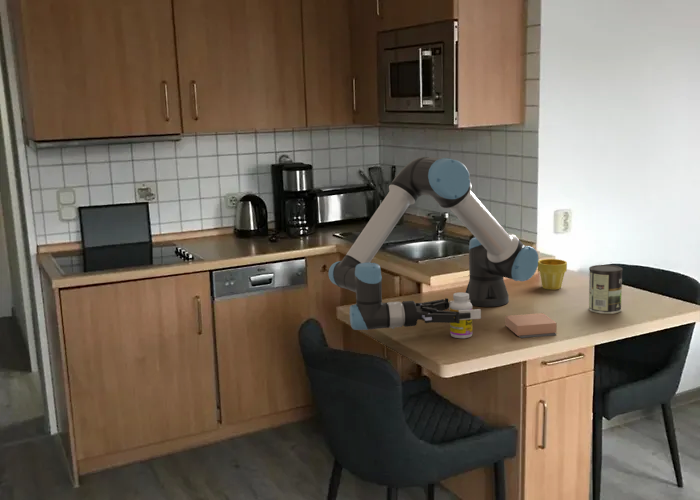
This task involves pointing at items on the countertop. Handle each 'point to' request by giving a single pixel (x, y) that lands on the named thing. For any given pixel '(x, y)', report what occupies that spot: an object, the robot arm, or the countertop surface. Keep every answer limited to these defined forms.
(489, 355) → the countertop surface
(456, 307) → the supplement bottle
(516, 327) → the pink flat block
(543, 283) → the plant pot
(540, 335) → the mat
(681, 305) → the countertop surface
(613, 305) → the coffee can
